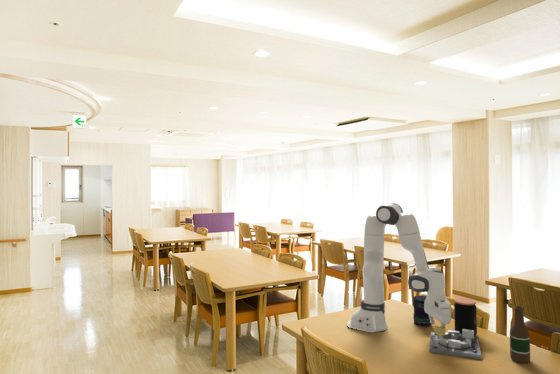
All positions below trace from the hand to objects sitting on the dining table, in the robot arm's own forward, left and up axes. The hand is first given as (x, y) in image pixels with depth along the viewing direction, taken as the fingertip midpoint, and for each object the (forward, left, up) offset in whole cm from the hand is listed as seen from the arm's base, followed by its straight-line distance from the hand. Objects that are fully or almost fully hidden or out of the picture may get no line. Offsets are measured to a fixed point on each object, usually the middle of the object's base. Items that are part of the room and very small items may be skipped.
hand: (437, 326), depth 200 cm
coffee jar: (+14, +12, -7) cm, 19 cm away
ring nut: (+8, -7, -4) cm, 11 cm away
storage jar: (-8, +21, -7) cm, 23 cm away
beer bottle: (+35, -13, -7) cm, 38 cm away
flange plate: (+8, -7, -6) cm, 12 cm away
